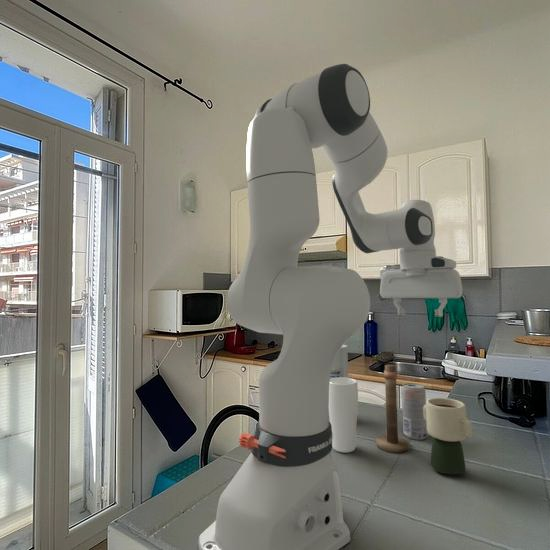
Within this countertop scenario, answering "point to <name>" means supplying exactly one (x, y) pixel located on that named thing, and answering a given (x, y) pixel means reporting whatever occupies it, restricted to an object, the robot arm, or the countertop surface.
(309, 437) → the robot arm
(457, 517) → the countertop surface
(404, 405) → the energy drink
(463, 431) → the character mug
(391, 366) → the post
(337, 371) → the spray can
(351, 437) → the white tumbler
